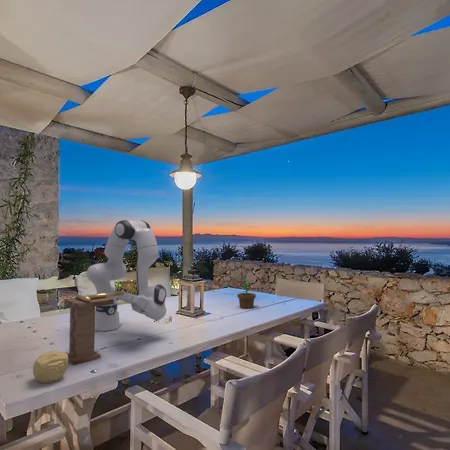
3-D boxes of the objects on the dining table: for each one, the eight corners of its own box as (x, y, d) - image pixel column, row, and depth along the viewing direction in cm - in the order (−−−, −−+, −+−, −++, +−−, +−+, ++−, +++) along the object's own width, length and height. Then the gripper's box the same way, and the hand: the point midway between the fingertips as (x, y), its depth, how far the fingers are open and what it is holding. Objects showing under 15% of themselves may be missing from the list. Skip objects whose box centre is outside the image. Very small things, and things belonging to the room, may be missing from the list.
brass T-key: (74, 298, 158) (74, 294, 158) (117, 292, 174) (118, 289, 174) (87, 302, 148) (87, 298, 148) (132, 296, 164) (132, 292, 164)
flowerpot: (238, 305, 270) (238, 267, 271) (256, 306, 268) (256, 268, 269) (236, 309, 256) (236, 269, 257) (255, 310, 254) (255, 270, 255)
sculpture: (40, 389, 122) (40, 359, 122) (28, 379, 130) (28, 351, 130) (71, 379, 131) (72, 351, 131) (58, 370, 139) (59, 344, 139)
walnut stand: (61, 356, 154) (62, 299, 155) (97, 348, 166) (98, 295, 167) (75, 366, 143) (76, 304, 144) (112, 356, 155) (113, 299, 156)
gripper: (132, 295, 183) (112, 284, 175) (153, 300, 169) (132, 289, 161) (127, 306, 181) (106, 295, 173) (148, 312, 167) (126, 301, 158)
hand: (119, 292), depth 166 cm, fingers open, 8 cm apart
